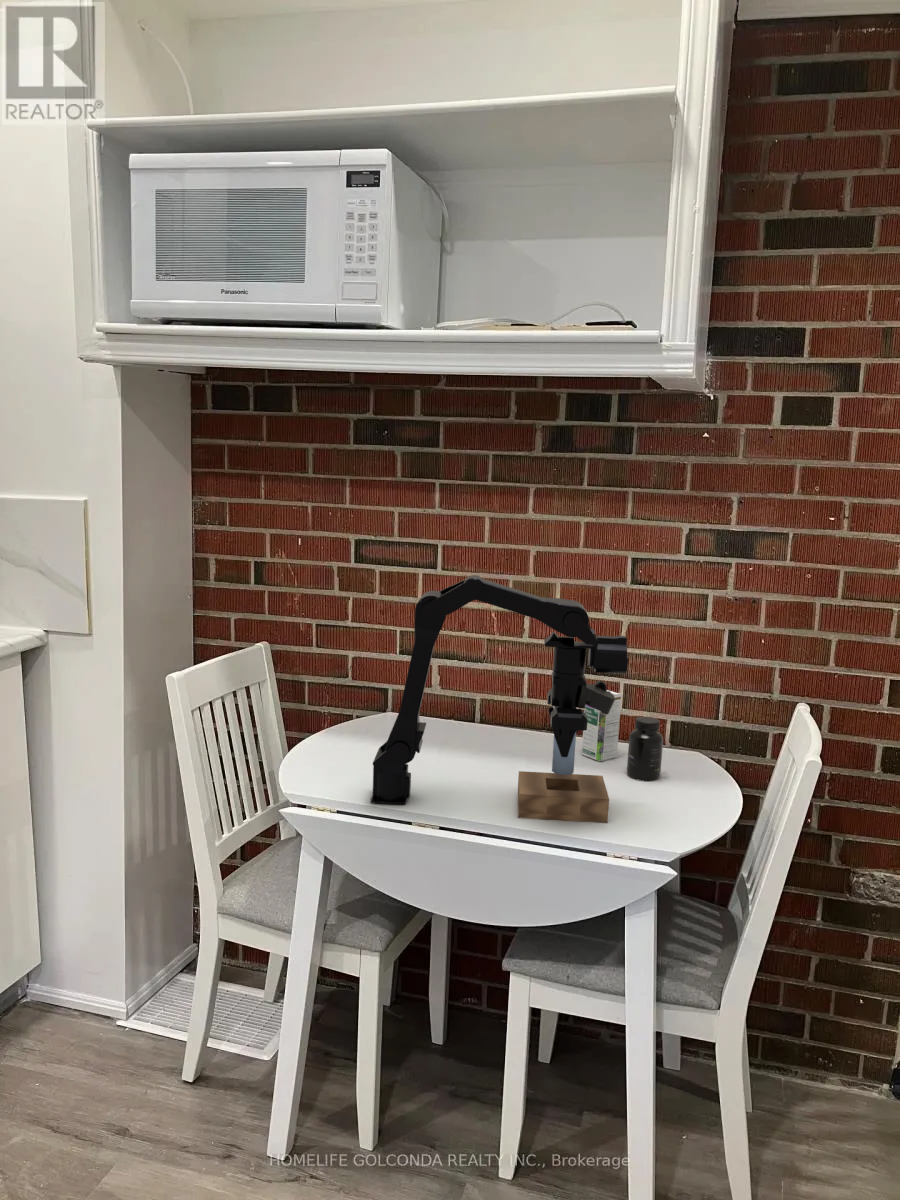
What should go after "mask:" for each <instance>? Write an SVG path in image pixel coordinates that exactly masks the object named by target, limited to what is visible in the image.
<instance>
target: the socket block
mask: <svg viewBox="0 0 900 1200" xmlns="http://www.w3.org/2000/svg"><path fill="white" fill-rule="evenodd" d="M517 777H518V779H517V780H518V782H517V816H518V817H517V818H518V819H531V820H532V819H533V820H535V819H536V820H551V821H554V820H555V821H569V822H570V821H571V822H586V823H587V822H588V823H589V822H590V823H603V824H605V823H606V824H608V821H609V820H608V819H609V809H610V807H609V805H610V797H609V794H608V791H607V786H606V783H605V780H604V776H603V775H595V774H580V773H579V774H577V773H573V774H570V775H560V774H556V773H554V772H539V771H521V770H519V771H518V776H517Z"/></svg>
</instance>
